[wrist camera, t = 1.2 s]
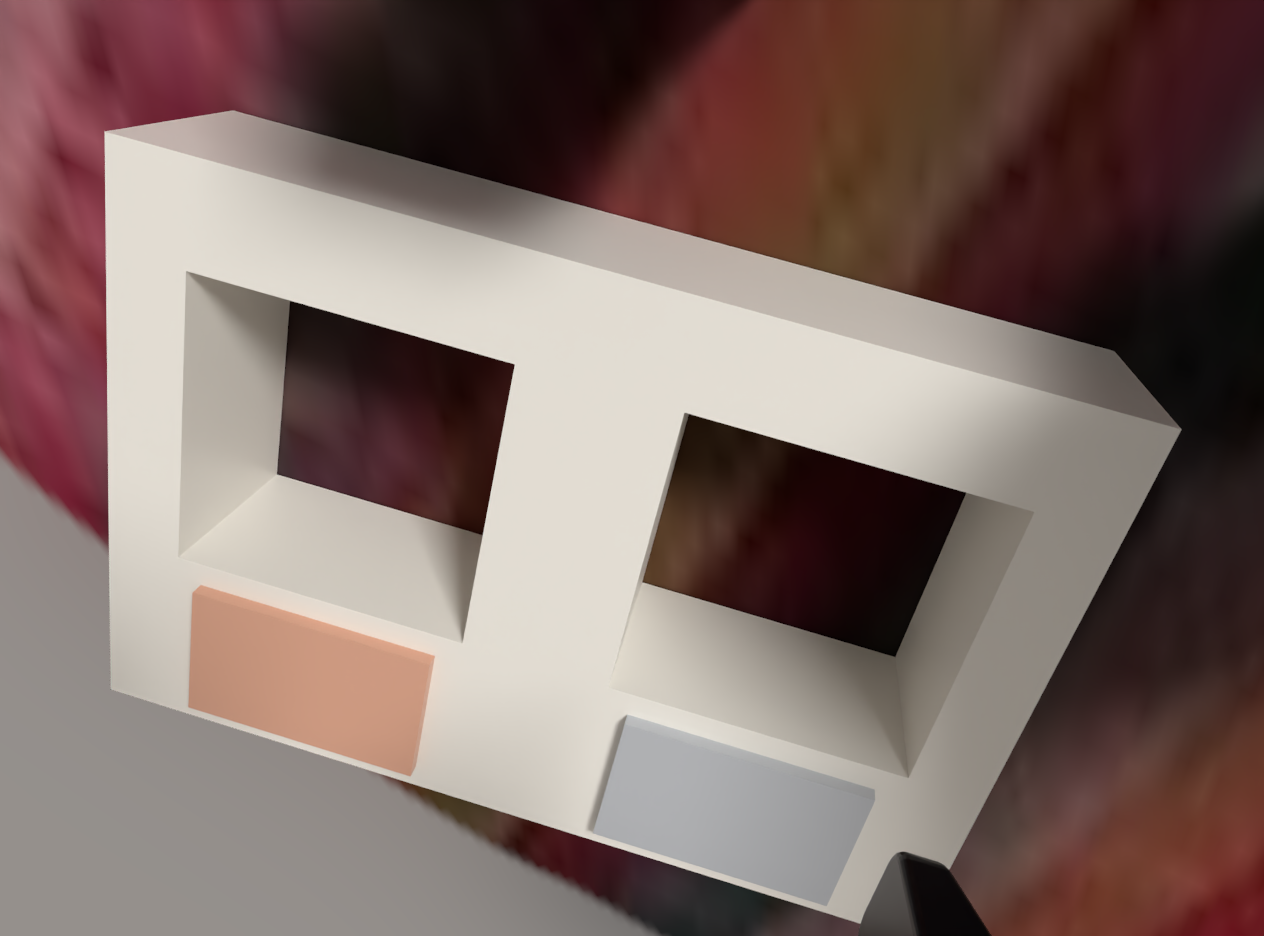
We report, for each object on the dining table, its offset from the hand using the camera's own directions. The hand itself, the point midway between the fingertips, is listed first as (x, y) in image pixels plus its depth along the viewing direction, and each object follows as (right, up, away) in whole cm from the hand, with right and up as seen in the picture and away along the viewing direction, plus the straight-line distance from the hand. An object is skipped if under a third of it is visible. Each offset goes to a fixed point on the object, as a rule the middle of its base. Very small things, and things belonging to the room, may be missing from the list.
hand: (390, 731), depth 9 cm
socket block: (+1, +2, +13) cm, 14 cm away
